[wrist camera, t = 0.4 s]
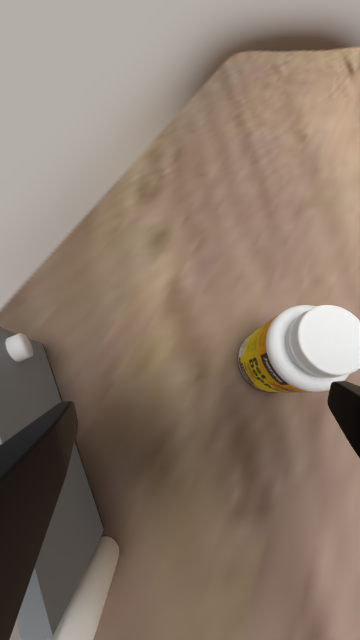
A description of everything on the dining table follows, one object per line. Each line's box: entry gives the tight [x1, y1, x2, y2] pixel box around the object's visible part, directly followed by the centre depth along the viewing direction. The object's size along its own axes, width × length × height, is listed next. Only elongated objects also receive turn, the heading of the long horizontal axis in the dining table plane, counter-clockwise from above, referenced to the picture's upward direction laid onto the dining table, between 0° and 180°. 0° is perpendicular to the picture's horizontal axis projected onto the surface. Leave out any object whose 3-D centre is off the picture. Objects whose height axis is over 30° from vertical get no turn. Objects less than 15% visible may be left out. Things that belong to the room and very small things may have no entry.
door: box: [0, 327, 104, 640], centre depth 17 cm, size 16×3×9 cm, turn 25°
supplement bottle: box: [238, 305, 360, 392], centre depth 19 cm, size 6×6×10 cm
